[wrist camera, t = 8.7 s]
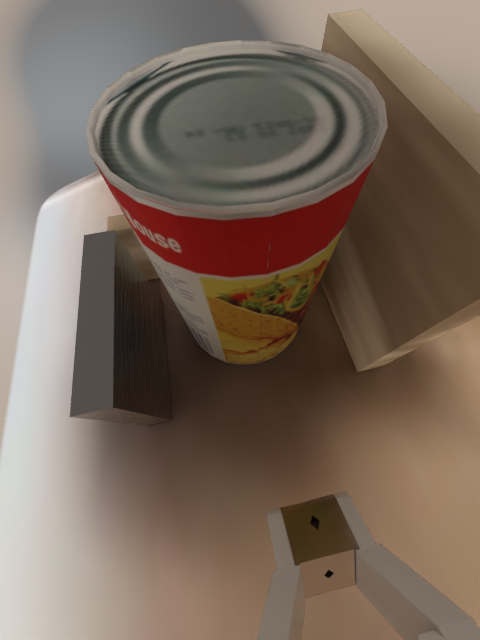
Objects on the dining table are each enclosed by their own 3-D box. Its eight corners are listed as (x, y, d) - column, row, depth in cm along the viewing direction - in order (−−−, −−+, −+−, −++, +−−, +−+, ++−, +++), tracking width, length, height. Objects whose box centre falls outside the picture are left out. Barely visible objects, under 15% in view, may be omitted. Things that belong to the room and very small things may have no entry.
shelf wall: (309, 208, 21) (361, 9, 11) (382, 366, 16) (620, 240, 6) (139, 239, 21) (36, 54, 11) (148, 418, 15) (-66, 379, 5)
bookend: (162, 302, 18) (114, 230, 12) (172, 420, 15) (113, 407, 8) (142, 306, 18) (84, 235, 12) (148, 425, 15) (69, 417, 8)
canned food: (324, 308, 17) (449, 94, 6) (244, 391, 15) (229, 278, 4) (243, 247, 20) (236, 19, 9) (165, 310, 18) (30, 111, 7)
